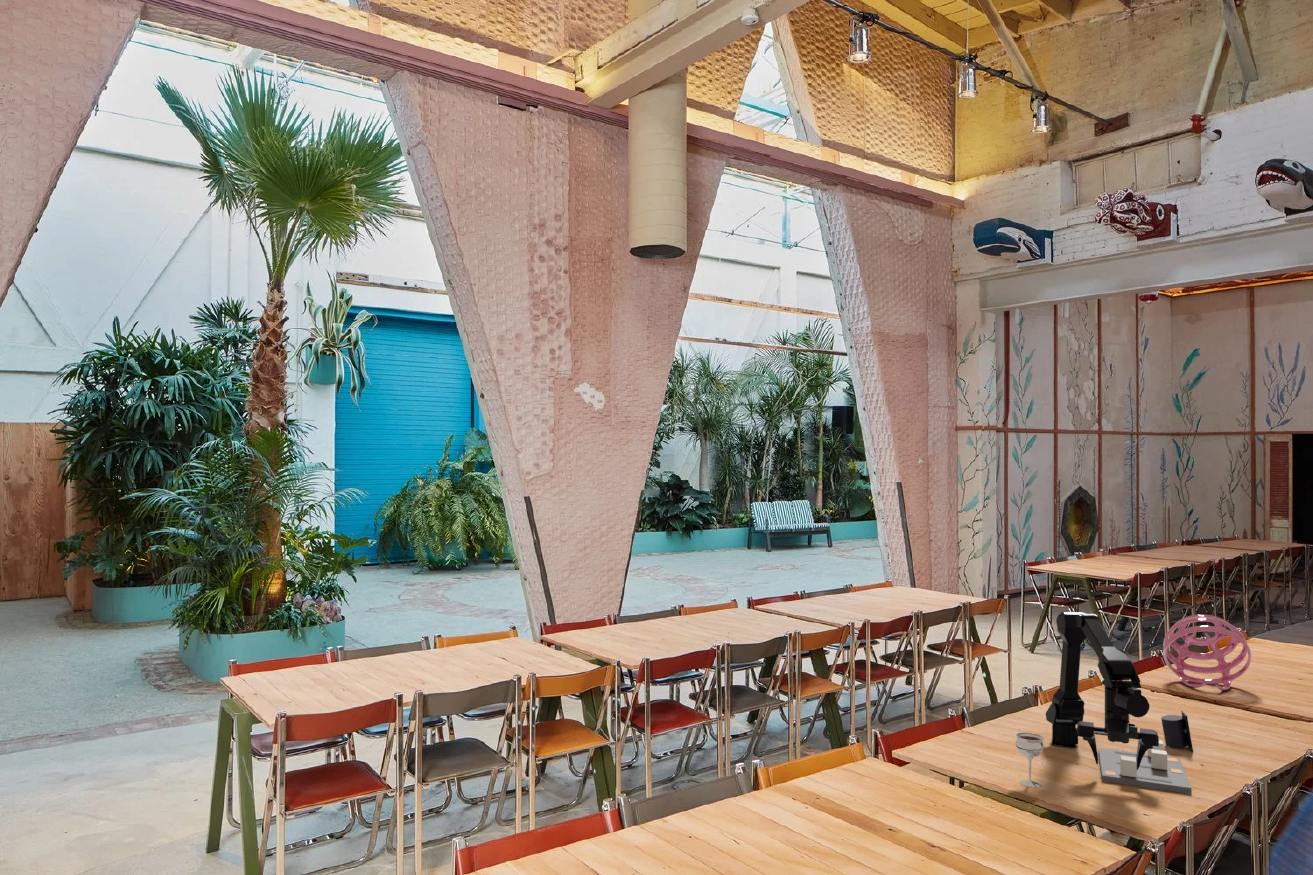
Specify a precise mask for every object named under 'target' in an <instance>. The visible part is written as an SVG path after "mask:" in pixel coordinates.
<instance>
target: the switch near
mask: <svg viewBox="0 0 1313 875" xmlns="http://www.w3.org/2000/svg"><path fill="white" fill-rule="evenodd" d="M1121 775H1123V776H1130V777H1137V761H1136V758H1135V757H1127V756H1121Z"/></svg>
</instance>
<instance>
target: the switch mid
mask: <svg viewBox="0 0 1313 875" xmlns="http://www.w3.org/2000/svg"><path fill="white" fill-rule="evenodd" d="M1167 757H1168V753H1167V751H1166V750H1164V749H1163V750H1155V749H1151V765H1152V768H1156V769H1163V770H1167Z"/></svg>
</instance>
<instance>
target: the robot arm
mask: <svg viewBox="0 0 1313 875" xmlns="http://www.w3.org/2000/svg"><path fill="white" fill-rule="evenodd" d="M1055 623H1056V626H1057V630H1056V631H1057V633H1058V635H1059V636H1060V638H1061V640H1062V646H1061V648H1062V649H1061V664H1060V676H1059V677H1060V678H1059V688H1058V689H1057V691H1056V692H1055V693H1054V694H1053V696H1052V699H1051V704H1050V705H1049V707H1048V708H1047V710H1046V712H1045V719H1046V721H1047V722H1048V723H1050V724H1052V727H1051V728H1052V729H1051V730H1052V731H1051V733H1052V734H1051V736H1052V737H1051V745H1052V746H1059V747H1066V748H1074V749H1077V745H1079V737H1080V738H1082V740H1083V741H1085V742H1088V743H1087V744H1089V746H1090V749H1091V751H1092V755H1093V757H1094V761H1095V763H1096V765H1099V753H1098V749H1097V742H1096V735H1100V736H1107V740H1108V741H1109V742H1112V743H1117V742H1118V743H1122V744H1129V743H1130V739H1131V740H1138V741H1137V751H1136V753H1137V757H1136V761H1137V770H1138V769H1139V766H1140V763H1141V761H1142V758H1143V756H1144V754H1146V752H1148V749H1153V746H1159V740H1160V739H1159V738H1160V737H1159V734H1158V732H1157V731H1156V730H1155V729H1148V728H1141V727H1139V730H1138V724H1137V723H1130V716H1131V717H1135V718H1142V717H1145V716H1146V715H1147V714H1148V713H1149V710H1150V703H1149V701H1148V699H1147V697H1146V696H1144V695H1143V694H1142V690H1141V688H1142V685H1141V679H1140V676H1139V675H1138V673H1137V670H1136V668H1135V666H1134V664H1133V662H1132V660H1131V659H1130V658H1129V657H1128V656H1127V654H1126V653H1124V652H1122V651H1120V650H1119V649H1117V648H1116V646H1115V645H1114V644H1113V641H1112V640H1111V639H1110V637H1109V635H1108V634H1107V632H1106V630H1105V629H1104V627H1103V626H1102V624H1101V623H1100V619H1099V616H1098V614H1095V613H1085V612H1078V611H1077V612H1076V611H1074V612H1073V611H1062V612H1060V613H1059V614H1058V615H1057V617H1056V622H1055ZM1086 639H1087V641H1088V642H1089V644H1090V646H1091V647H1092V649H1093V651H1094V653H1095V654H1096V655H1097V658H1098V663H1097V667H1098V669H1099V673H1100V676H1101V677H1102V679H1103V680H1102V681H1101V685H1103V686H1104V727H1102V726H1101V727H1100V726H1095V725H1094V724H1095V723H1094V722H1092V721H1084V716H1085V708H1084V707H1085V701H1084V700H1083V699H1082V697H1081V696H1080V694H1079V680H1080V679H1079V678H1080V665H1081V654H1082V653H1081V650H1082V644H1083V643H1084V642H1085V640H1086Z"/></svg>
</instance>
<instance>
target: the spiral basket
mask: <svg viewBox="0 0 1313 875" xmlns="http://www.w3.org/2000/svg"><path fill="white" fill-rule="evenodd" d="M1199 622H1209V623H1212V624H1214V625H1215V626H1213V625H1196V626H1189V627H1187V626H1188V624H1191V623H1199ZM1224 626H1226V627H1228V628H1229V629H1230V630H1229V629H1226V628H1225V627H1224ZM1176 629H1178V631H1177V632H1175V630H1176ZM1174 632H1175V633H1174ZM1200 632H1204V634H1205V637H1206V638H1204V639H1203V638H1201V639H1200V638H1196V637H1195V635H1196V634H1197V633H1200ZM1207 632H1211V633H1215V634H1214V635H1213V636H1210V635H1209V634H1208V633H1207ZM1189 634H1190V635H1189ZM1225 636H1228V637H1231V640H1230V641H1229V643H1228V644H1227V645H1226V646H1225V647H1223V648H1222V649H1220V648H1218V646H1217V643H1220V641H1221V640H1223V638H1224V637H1225ZM1179 638H1182V640H1183V641H1184V644H1183V645H1180V644H1179V643H1178V642H1177V639H1179ZM1239 643H1240V644H1242V649H1241V651H1240V653H1239V655H1237V656H1236V657H1235V658H1234V659H1232V660H1231V661H1229V662H1226V660H1225V657H1226V656H1227V655H1230V654H1231V653H1232V652H1234V650H1235V649H1236V647H1237V646H1238V644H1239ZM1162 645H1163V650H1162V653H1163V659H1164V662H1165V663H1166V664H1165V665H1167V667H1168V669H1170V670H1171V671H1172V672H1173V674H1175V675H1176V676H1177V677H1178V678H1179V680H1180V681H1181V682H1182V683H1183V684H1184V685H1185V686H1187V687H1190V688H1193V689H1198V688H1202V687H1205V686H1206V685H1215V686H1216V688H1218V690H1220V691H1222V692H1224V691H1227V690H1229V689H1230V687H1231V685H1232V682H1233V681H1234V680H1235V679H1237V678H1239V677H1241V676H1242V675H1243V674H1244V673H1245V672H1247V670H1248V669H1249V668H1250V665H1251V662H1252V652H1251V649H1250V647H1249V644H1248V642H1247V640H1246V637H1245V636H1244V634H1243V633H1242V632H1241V631H1240V630H1239V629H1238V628H1237V627H1236V626H1235V625H1233V624H1231V623H1230V622H1228V621H1227V620H1225V619H1223V618H1222V617H1219V616H1215V615H1210V614H1194V615H1193V614H1192V615H1189V616H1185V617H1182V618H1181V619H1179V620H1178V621H1176V622H1175V623H1174V624H1173V625H1172V626H1171V628H1169V630H1168V631H1167V632H1166V634H1165V636H1164V638H1163V644H1162ZM1170 645H1171V647H1172V649H1174V650H1175V652H1177V654H1178V656H1177V657H1176V656H1174V655H1173V654H1172V653H1171V652H1170V650H1169V647H1170ZM1190 645H1193V646H1200V647H1206V646H1207V647H1208V646H1210V647H1211V648H1212V651H1211V652H1206V653H1205V652H1204V653H1203V652H1195V651H1192V650H1189V646H1190ZM1246 657H1247V661H1246V663H1245V664H1244V665H1243V666H1242V668H1241V669H1239V670H1238V671H1237V672H1234V673H1231V672H1230V671H1231V670H1232V669H1234V668H1235V667H1237V666H1239V665H1240V664H1241V663H1242V662H1243V661H1244V660H1245V658H1246ZM1185 658H1190V659H1193V660H1199V661H1213V660H1215V661H1217V663H1218V664H1217V665H1216V666H1197V665H1196V666H1195V665H1191V664H1188V663H1186V662H1185ZM1168 659H1169V660H1168ZM1169 661H1171V662H1172V663H1173V664H1174V665H1175V667H1176V668H1175V667H1173V666H1172V664H1171V663H1170V662H1169ZM1184 670H1185V671H1189V672H1192V673H1196V674H1197V673H1199V674H1217V673H1219V674H1221V677H1218V678H1200V677H1194V676H1189V675H1188V674H1186V673H1185V672H1184ZM1189 682H1192V683H1196V684H1191V683H1189ZM1219 684H1220V685H1221V684H1223V686H1220V685H1219Z"/></svg>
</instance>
